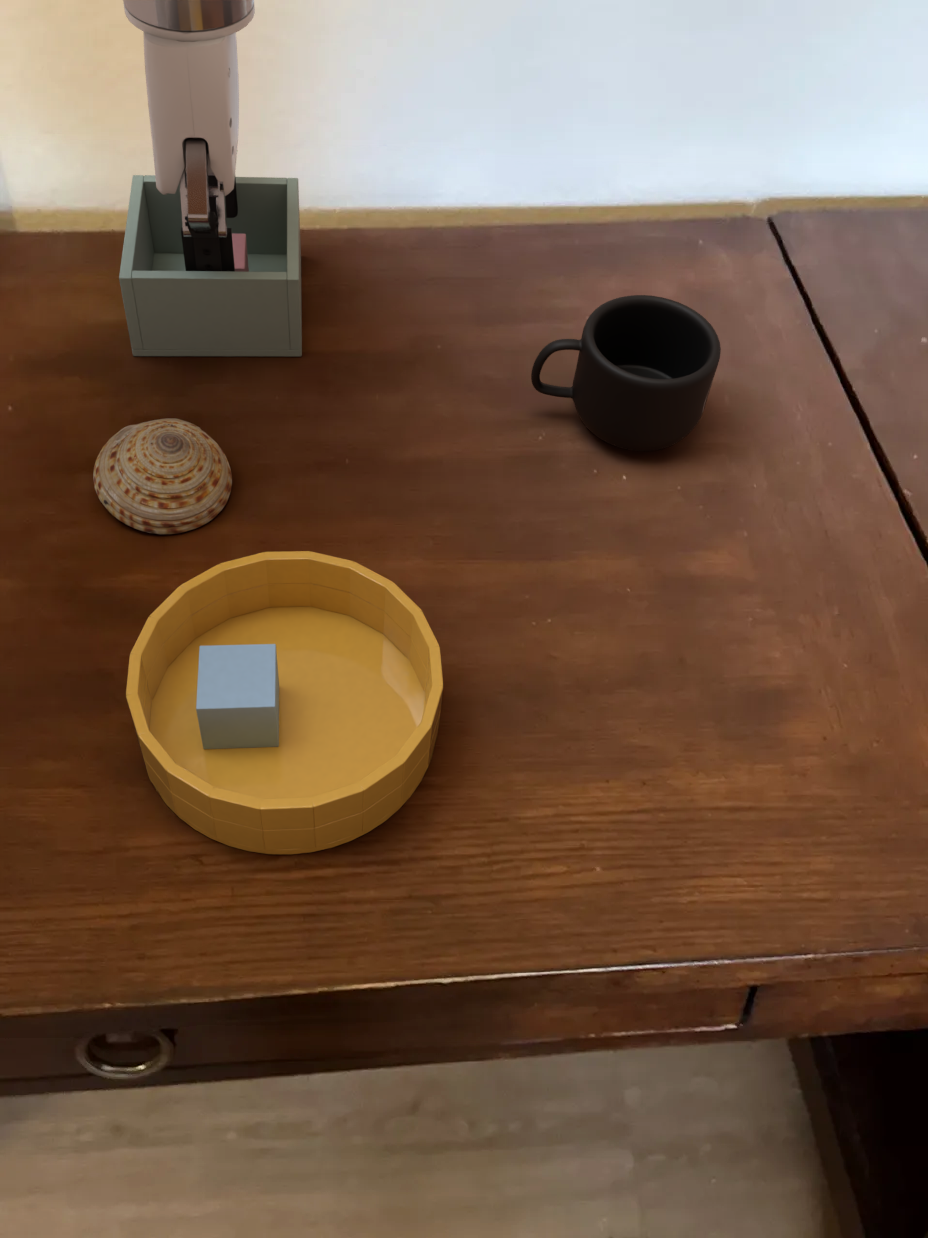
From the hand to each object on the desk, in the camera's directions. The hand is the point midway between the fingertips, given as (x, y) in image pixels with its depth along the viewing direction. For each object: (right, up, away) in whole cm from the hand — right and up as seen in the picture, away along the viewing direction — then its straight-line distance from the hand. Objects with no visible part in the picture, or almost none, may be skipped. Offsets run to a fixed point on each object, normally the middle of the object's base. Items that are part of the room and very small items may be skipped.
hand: (213, 245), depth 84 cm
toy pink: (0, -3, +3) cm, 4 cm away
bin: (0, -3, +4) cm, 5 cm away
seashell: (-2, -17, -7) cm, 19 cm away
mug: (+28, -12, 0) cm, 30 cm away
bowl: (+8, -32, -17) cm, 37 cm away
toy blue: (+5, -31, -18) cm, 36 cm away
